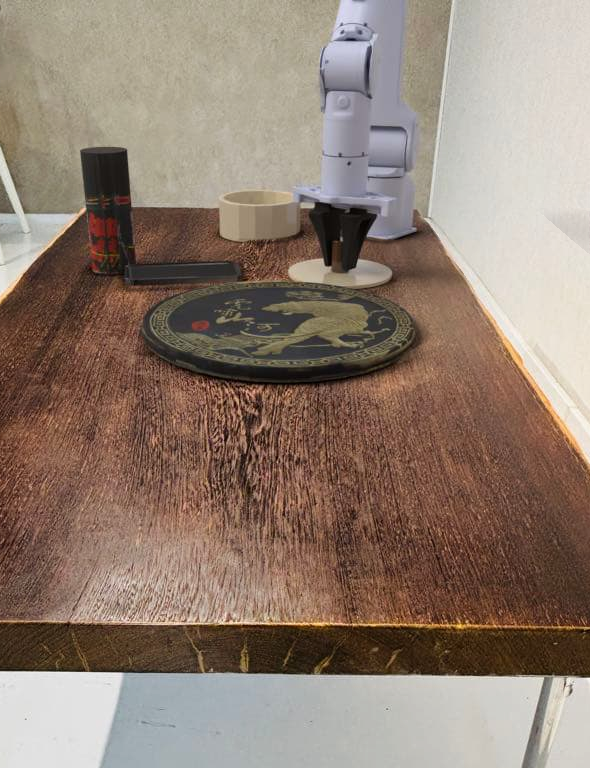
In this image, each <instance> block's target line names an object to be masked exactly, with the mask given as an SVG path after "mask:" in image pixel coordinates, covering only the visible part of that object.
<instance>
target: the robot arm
mask: <svg viewBox="0 0 590 768" xmlns="http://www.w3.org/2000/svg"><path fill="white" fill-rule="evenodd" d="M408 5H409V0H340V1H339V6H338V10H337V14H336V18H335V23H334V27H333V31H332V36H331V39H330V41H329V42H328V45H327V46H326V45H323V46H322V48H321V51H320V54H319V60H318V88H319V97H320V98H319V99H320V100H319V101H320V102H319V103H320V104H319V107H320V112H321V113H322V114H323V118H322V142H321V143H322V145H321V175H320V176H321V177H320V185H310V184H309V185H308V184H298V185H295V186H292V193H293V202H294V203H303V204H310V205H314V206H313V209H310V210H309V211H308V218H309V220H310V222H311V223H312V226H313V228H314V230H315V233H316V236H317V238H318V241H319V245H320V250H321V254H322V258H323V259H324V265H325V266H326V267H330V266H331V255H332V239H333V238H337V237H343V260H342V263H343V270H346V271H349V270H351V269H354V268H356V265H357V262H358V259H360V255H361V252H362V248H363V246H364V243H365V241H366V238H367V237H370V238H375V239H380V240H395V239H399V238H401V237H403V236H406V235H407V236H408V235H410V234H412V233H415V232H417V231H418V228H417V227H413V222H414V221H413V220H414V210H415V198H416V185H415V182H414V179H413V177H412V176H411V174H409V173H412V172H413V170H414V169H415V168H416V166H417V161H418V156H419V150H420V149H419V146H420V131H419V130H420V129H419V127H420V119H419V115H418V113H416V111H414V110H413V109H412V107H410V106H409V105H408V104H407V103H405V102H404V101H403V98H402V97H403V83H404V81H403V80H404V67H405V55H406V54H405V52H406V38H407V25H408V24H407V23H408V22H407V21H408V9H409V6H408ZM347 210H348V211H349V212H346V211H347ZM341 235H342V236H341Z"/></svg>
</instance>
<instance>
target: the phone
mask: <svg viewBox="0 0 590 768" xmlns="http://www.w3.org/2000/svg"><path fill="white" fill-rule="evenodd" d="M242 280H243V275H242V270H241V269H240V265H239V263H238V262H237V261H234V260H218V261H217V260H215V261H213V260H212V261H190V262H188V261H187V262H184V261H183V262H160V263H136V264H131V265H127V266H125V274H124V285H127V286H131V287H132V286H135V287H136V286H159V285H160V286H162V285H190V284H193V285H194V284H215V283H216V284H218V283H221V284H222V283H236V282H242Z"/></svg>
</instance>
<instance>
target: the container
mask: <svg viewBox="0 0 590 768" xmlns="http://www.w3.org/2000/svg"><path fill="white" fill-rule="evenodd" d="M217 201H218V231H219V235H220V237H221V238H223V239H226V240H229V241H233V242H237V243H238V242H239V243H245V242H248V241H252V240H275V239H276V240H277V239H282V238H284V239H285V238H288V237H292V236H295V235H297V234H298V233H299V232H300V231H301V213H302V212H301V209H302V208H301V207H302V204H301V203H302V202H301V203H294V202H293V192H291V191H284V190H277V189H244V190H234V191H230V192H226V193H222V194H221V195H219V196H218V197H217Z"/></svg>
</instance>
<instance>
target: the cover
mask: <svg viewBox="0 0 590 768" xmlns="http://www.w3.org/2000/svg"><path fill="white" fill-rule="evenodd" d="M342 260H343V237H342V236H340V237H337V238H333V239H332V255H331V266H330V267H326V266H325V265H324V259H323V257H322V258H321V257H320V258H313V259H306V260H303V261H299V262H297V263H294V264H292V265H291V266H289V268H288V269H287V275H288V277H289V279H290V280H291V281H301V282H312V283H323V284H329V285H336V286H343V287H347V288H352V289H356V290H362V289H369V288H374V287H378V286H381V285H384V284H387V283H388V282H390V281H391V280H392V278H393V271H392V269H391V268H390V267H388V266H387V265H384V264H383V263H379V262H376V261H371V260H368V259H361V258H358V262H357V265H356V268H354V269H351V270H349V271H346V270H343V263H342Z"/></svg>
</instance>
